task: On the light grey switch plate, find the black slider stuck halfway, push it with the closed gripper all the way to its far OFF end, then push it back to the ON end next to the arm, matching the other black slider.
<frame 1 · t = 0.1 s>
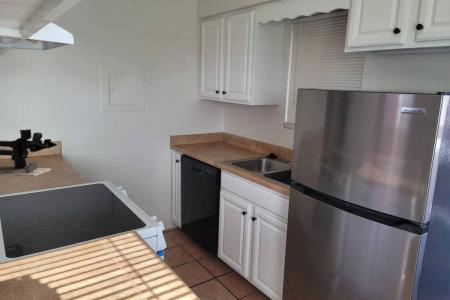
hand: (52, 145, 222), 16 cm above the worktop, tool horizontal, fingers open, 9 cm apart
slider on: (33, 165, 220), point 3 cm above the worktop, slide at 0.0 cm
slider tripped: (29, 168, 212), point 3 cm above the worktop, slide at 3.5 cm
switch plate: (34, 172, 216), on the worktop
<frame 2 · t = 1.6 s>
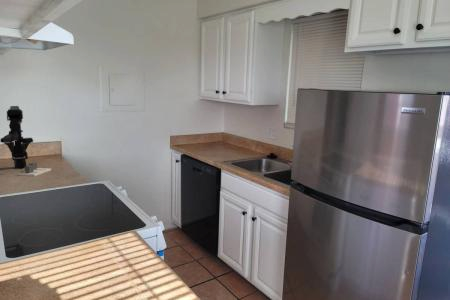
hand: (18, 153, 211), 13 cm above the worktop, tool pointing down, fingers open, 8 cm apart
nothing on the worktop moved.
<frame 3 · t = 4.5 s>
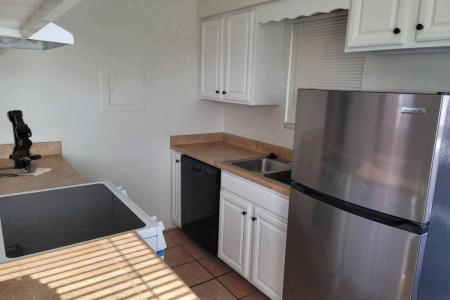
hand: (26, 169, 212), 3 cm above the worktop, tool pointing down, fingers closed
slider tripped: (31, 169, 212), point 3 cm above the worktop, slide at 4.7 cm, touching gripper
everything else where it was.
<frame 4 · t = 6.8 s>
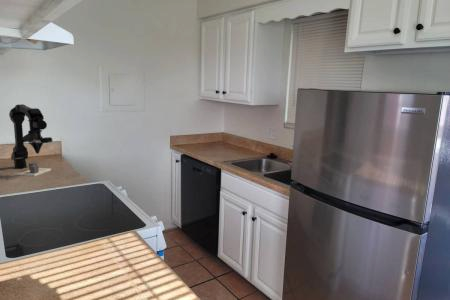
hand: (37, 153, 208), 14 cm above the worktop, tool pointing down, fingers closed
slider tripped: (34, 169, 211), point 3 cm above the worktop, slide at 7.1 cm
everything else where it was.
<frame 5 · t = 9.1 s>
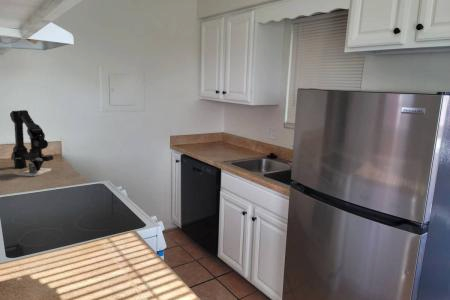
hand: (38, 170, 211), 2 cm above the worktop, tool pointing down, fingers closed
slider tripped: (33, 169, 211), point 3 cm above the worktop, slide at 6.4 cm, touching gripper
everything else where it was.
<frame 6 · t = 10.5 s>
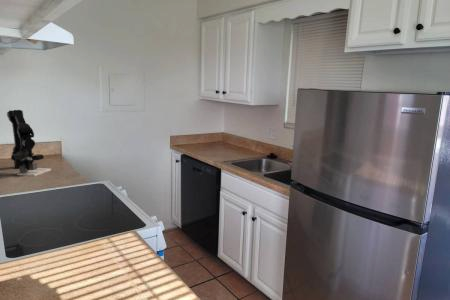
hand: (28, 170, 212), 2 cm above the worktop, tool pointing down, fingers closed
slider tripped: (24, 168, 212), point 3 cm above the worktop, slide at -0.1 cm, touching gripper
everything else where it was.
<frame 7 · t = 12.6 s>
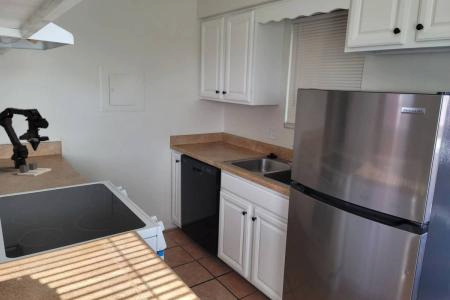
hand: (35, 150, 222), 13 cm above the worktop, tool pointing down, fingers closed
slider tripped: (24, 168, 212), point 3 cm above the worktop, slide at -0.1 cm
everything else where it was.
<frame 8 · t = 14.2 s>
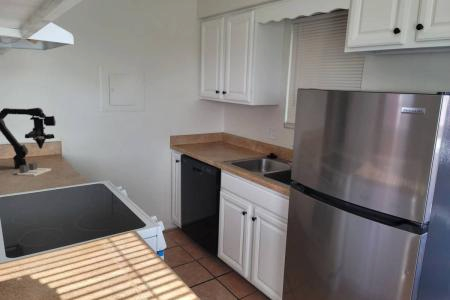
hand: (40, 148, 230), 13 cm above the worktop, tool pointing down, fingers closed
nothing on the worktop moved.
at the end: slider tripped slide at -0.1 cm; slider on slide at 0.0 cm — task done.
